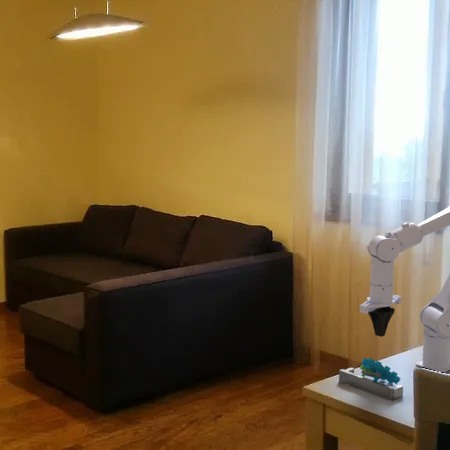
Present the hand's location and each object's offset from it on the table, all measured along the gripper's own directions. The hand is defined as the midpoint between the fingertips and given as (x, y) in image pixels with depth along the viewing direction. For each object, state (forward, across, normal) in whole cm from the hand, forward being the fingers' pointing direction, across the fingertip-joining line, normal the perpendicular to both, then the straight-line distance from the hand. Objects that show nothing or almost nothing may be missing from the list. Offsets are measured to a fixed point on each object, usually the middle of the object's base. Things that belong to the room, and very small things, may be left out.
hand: (379, 335), depth 175 cm
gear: (+10, +8, +6) cm, 14 cm away
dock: (+9, +11, +6) cm, 16 cm away
